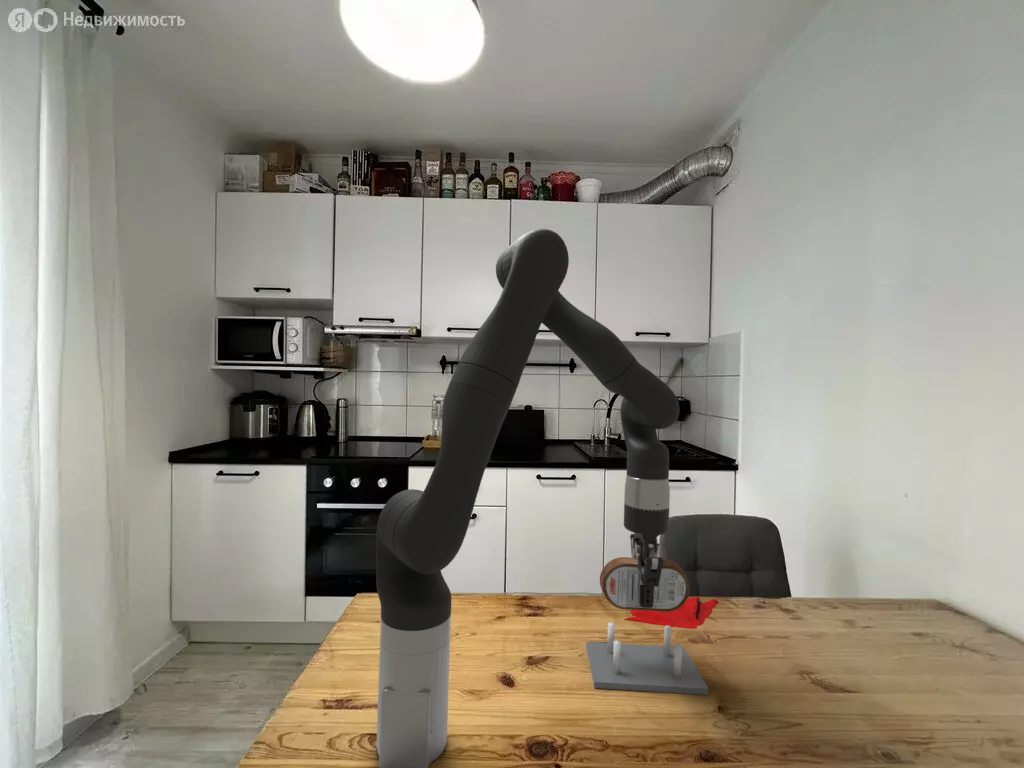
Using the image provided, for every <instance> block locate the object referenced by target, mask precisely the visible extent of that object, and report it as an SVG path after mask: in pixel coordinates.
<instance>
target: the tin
mask: <svg viewBox="0 0 1024 768" xmlns="http://www.w3.org/2000/svg"><path fill="white" fill-rule="evenodd" d="M662 559H663V565H662V570H661V575H660V580H659V585H658V587H655V586H654V597H653V607H652V608H644V607H641V606H640V604H639V592H640V583H639V573H640V571H639V570H638V569H637V563H636V558H632V556H631V557H629V556H627V557H626V556H620V557H619V556H618V557H616V558H613V559H611V560H609V561H608V562H607V563H606V564H605V565H604V566H603V568H602V570H601V572H600V575H599V585H600V589H601V591H602V592H603V595H604V598H605V599H606V600H607V601H608V603H609V604H610V605H612V606H613V607H614V608H617V609H621V610H626V611H627V610H629V611H631V610H642V611H659V612H671V611H675V610H677V609H679V608H680V607H681V606H683V604H684V603H685V602H686V601H687V599H688V598H689V594H690V590H691V589H690V581H689V578H688V577H687V575H686V573H685V572H684V570H683V569H682V567H681V566H680V565H679V564H678V563H676V562H674V561H673V560H669V559H666V558H665V559H664V558H662ZM641 565H642V566H645V564H641ZM648 578H651V577H648Z"/></svg>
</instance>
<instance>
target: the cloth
mask: <svg viewBox="0 0 1024 768" xmlns="http://www.w3.org/2000/svg"><path fill="white" fill-rule="evenodd" d="M718 603H719V601H718V600H717V599H715V598H713V599H710V600H707V601H704V602H700V596H694V597H690V598H689V597H688V599H687V601H686V602H685V603H684V604H683V606H681V607H680V608H679V609H677V610H675V611H671V612H659V611H642V610H630V614H631V617H627V618H623V620H624V621H629V622H630V621H631V622H636V623H643V624H648V625H653V626H655V625H656V626H661V627H664V626H666V625H667V626H670V627H671V628H674V627H675V628H679V629H680V628H682V629H687V630H688V629H690V630H691V629H692V630H693V629H694V630H696V629H697V628H698V627H700V626H701V625H703V624H704V623H705V621H706V620H707V619H708V618H709V616H710V615H711V613H712V612H713V609H715V608H716V605H717V604H718Z"/></svg>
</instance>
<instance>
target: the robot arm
mask: <svg viewBox="0 0 1024 768" xmlns="http://www.w3.org/2000/svg"><path fill="white" fill-rule="evenodd" d="M569 263H570V259H569V251H568V247H567V245H566V243H565V241H564V240H563V238H562V237H561V235H560V234H558V233H557V232H556V231H554V230H551V229H548V228H536V229H532V230H530V231H528V232H526V233H524V234H523V235H521V236H520V237H518V238H517V239H516V240H515V241H513V242H512V243H511V244H510V245H509V246H508V247H507V248H506V249H504V251H502V252H501V253H500V255H499V256H498V259H497V260H496V264H495V275H496V279H497V280H498V281H497V282H498V283H499V285H500V287H501V289H502V292H501V294H500V296H499V298H498V300H497V302H496V304H495V306H494V307H493V309H492V311H491V312H490V313H489V315H487V316H488V317H487V318H486V319H485V321H484V322H483V323H482V325H481V326H480V327H479V328H478V330H477V331H476V333H475V334H474V336H473V337H472V339H471V341H470V342H469V343H468V345H467V346H466V349H465V350H464V351H463V353H462V355H461V356H460V359H459V361H458V363H457V365H456V367H455V370H454V372H453V374H452V376H451V379H450V381H449V384H448V387H447V388H446V392H445V395H444V398H443V403H442V412H441V413H442V414H441V415H442V416H441V438H440V440H441V441H440V447H439V452H438V456H437V459H436V463H435V466H434V468H433V470H432V473H431V475H430V477H429V479H428V481H427V484H426V486H425V488H424V490H419V489H415V488H414V489H413V488H410V489H404V490H402V491H399V492H397V493H396V494H394V495H393V496H392V497H390V499H388V501H387V502H386V503H384V504H385V505H384V506H383V508H382V509H381V512H380V514H379V517H378V521H377V528H376V536H375V538H376V539H375V573H376V575H375V576H376V577H375V579H376V580H375V581H376V583H375V585H376V591H377V595H378V598H379V603H380V635H379V637H380V638H379V656H378V657H379V660H378V687H377V688H378V689H377V693H378V694H377V713H376V714H377V715H376V716H377V718H376V719H377V721H376V722H377V723H376V747H375V748H376V753H377V756H378V768H430V765H431V764H432V763H433V762H434V761H435V760H436V759H438V758H439V757H440V756H441V754H442V753H444V752H443V751H444V750H445V748H446V745H447V743H448V722H449V721H448V720H449V719H448V718H449V716H448V715H449V714H448V713H449V687H450V686H449V683H450V678H449V677H450V653H451V652H450V650H451V647H450V646H451V628H452V627H451V626H452V625H451V623H452V593H451V590H450V587H449V585H448V584H447V582H446V581H445V578H444V575H443V574H442V570H444V569H445V568H447V566H449V565H450V564H451V562H452V561H453V560H455V558H456V556H457V555H458V553H460V552H459V551H460V549H461V548H462V545H463V543H464V540H465V539H466V534H467V532H468V528H469V525H470V521H471V518H472V515H473V511H474V507H475V505H476V501H477V500H476V499H477V497H478V494H479V491H480V486H481V484H482V480H483V476H484V473H485V471H486V467H487V465H488V463H489V461H490V457H491V455H492V452H493V449H494V447H495V444H496V442H497V438H498V435H499V433H500V431H501V428H502V425H503V423H504V421H505V419H506V417H507V415H508V412H509V410H510V407H511V405H512V403H513V400H514V397H515V395H516V392H517V389H518V387H519V384H520V381H521V378H522V375H523V373H524V370H525V368H526V364H527V362H528V360H529V357H530V355H531V352H532V351H533V347H534V344H535V341H536V338H537V335H538V333H539V330H540V327H541V325H543V326H545V327H546V328H547V329H548V330H550V331H551V332H552V333H553V334H554V335H555V336H556V337H557V338H558V339H560V340H561V342H563V343H564V344H565V346H567V347H568V348H569V349H570V350H571V351H572V352H573V353H574V354H575V355H576V356H577V358H579V359H580V361H581V362H582V363H583V364H584V365H585V367H586V368H587V369H589V371H590V372H591V373H592V374H593V376H595V378H596V379H597V380H598V382H600V384H601V385H602V386H603V387H604V388H605V389H607V390H608V391H609V392H611V393H613V394H615V395H619V396H621V397H622V400H621V404H620V421H621V422H620V423H621V427H622V433H623V438H624V443H625V446H626V451H627V455H626V478H625V484H624V495H623V497H624V499H623V500H624V504H623V505H624V507H623V526H624V529H625V530H627V531H628V532H631V533H630V536H629V538H630V548H631V549H630V551H631V558H636V563H637V569H638V570H639V571H640V573H639V583H640V592H639V604H640V606H641V607H644V608H652V607H653V597H654V586H655V587H658V585H659V580H660V575H661V570H662V565H663V559H664V558H663V557H660V553H661V546H660V543H659V542H658V539H657V538H658V537H659V536H661V535H665V534H667V533H668V532H669V530H670V499H671V497H670V494H671V493H670V492H671V490H670V482H669V477H670V475H669V474H670V450H669V448H668V446H667V445H666V444H664V442H662V441H661V440H659V438H658V434H657V430H663V429H668V428H670V427H672V426H673V425H674V424H675V423H676V422H677V420H678V419H679V417H680V411H681V410H680V403H679V401H678V398H677V396H676V394H675V393H674V391H673V390H672V389H671V387H669V386H668V385H667V384H666V383H665V382H664V381H662V379H660V378H659V377H658V376H657V375H656V374H654V373H653V372H652V371H651V370H650V369H648V368H646V367H645V366H644V365H642V364H641V363H640V362H639V361H638V360H637V358H636V357H635V355H634V354H632V352H631V351H630V350H629V349H628V347H627V346H626V345H625V343H623V342H622V340H621V339H620V338H619V337H618V336H617V335H616V334H615V333H614V332H613V331H612V330H611V329H609V328H608V327H607V326H605V325H603V324H602V323H601V322H599V321H598V320H596V319H595V318H593V317H591V316H589V315H588V314H586V313H585V312H583V311H582V310H581V309H578V307H576V306H575V305H573V304H572V303H571V302H570V301H569V300H568V299H567V298H566V297H565V296H564V295H563V294H562V293H561V292H560V288H561V286H562V284H563V283H564V280H565V278H566V275H567V274H568V269H569ZM641 564H645V566H642V565H641ZM648 577H651V578H648Z"/></svg>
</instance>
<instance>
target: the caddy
mask: <svg viewBox="0 0 1024 768" xmlns="http://www.w3.org/2000/svg"><path fill="white" fill-rule="evenodd" d="M615 625H616V624H615V623H614V622H610V621H609V622H608V623H607V640H606V642H599V641H598V642H597V641H585V647H586V648H585V649H586V654H587V659H588V662H589V663H588V664H589V668H590V669H589V670H590V675H591V679H592V682H593V684H592V685H593V687H594V689H601V690H620V691H634V692H635V691H636V692H638V691H639V692H652V693H670V694H682V695H683V694H684V695H685V694H687V695H702V696H709V687H708V685H707V684H706V682H705V680H704V679H703V677H702V674H701V673H700V672H699V670H698V668H697V666H696V665H695V663H694V661H693V659H692V658H691V656H690V654H689V653H688V651H687V649H686V648H685V646H683V645H682V644H680V643H674V644H673V645H674V646H672V627H670V626H667V625H666V626H663V631H664V632H663V645H650V644H633V643H632V644H631V643H622V642H621V640H617V639H616V640H615V633H616V628H615V627H616V626H615Z"/></svg>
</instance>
